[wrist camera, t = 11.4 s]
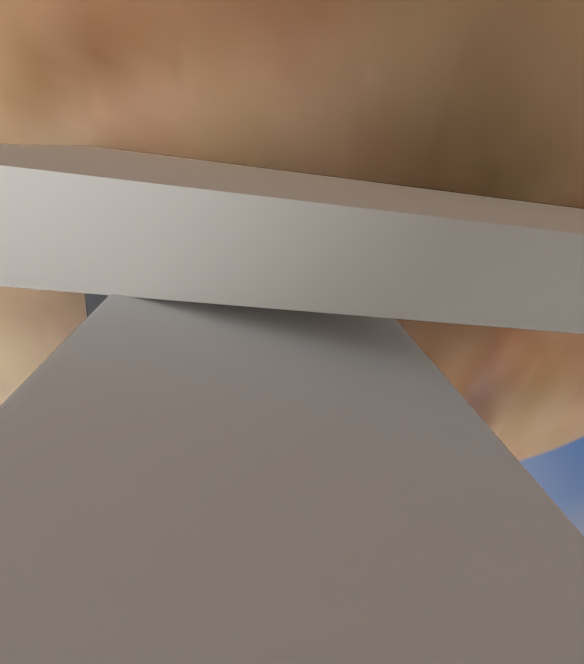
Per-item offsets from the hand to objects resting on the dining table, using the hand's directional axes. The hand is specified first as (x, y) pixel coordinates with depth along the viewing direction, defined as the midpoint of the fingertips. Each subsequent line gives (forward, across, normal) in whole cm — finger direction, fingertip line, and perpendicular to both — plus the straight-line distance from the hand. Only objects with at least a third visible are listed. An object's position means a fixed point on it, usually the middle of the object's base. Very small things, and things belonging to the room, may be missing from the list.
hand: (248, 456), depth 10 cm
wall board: (+12, -6, -5) cm, 14 cm away
